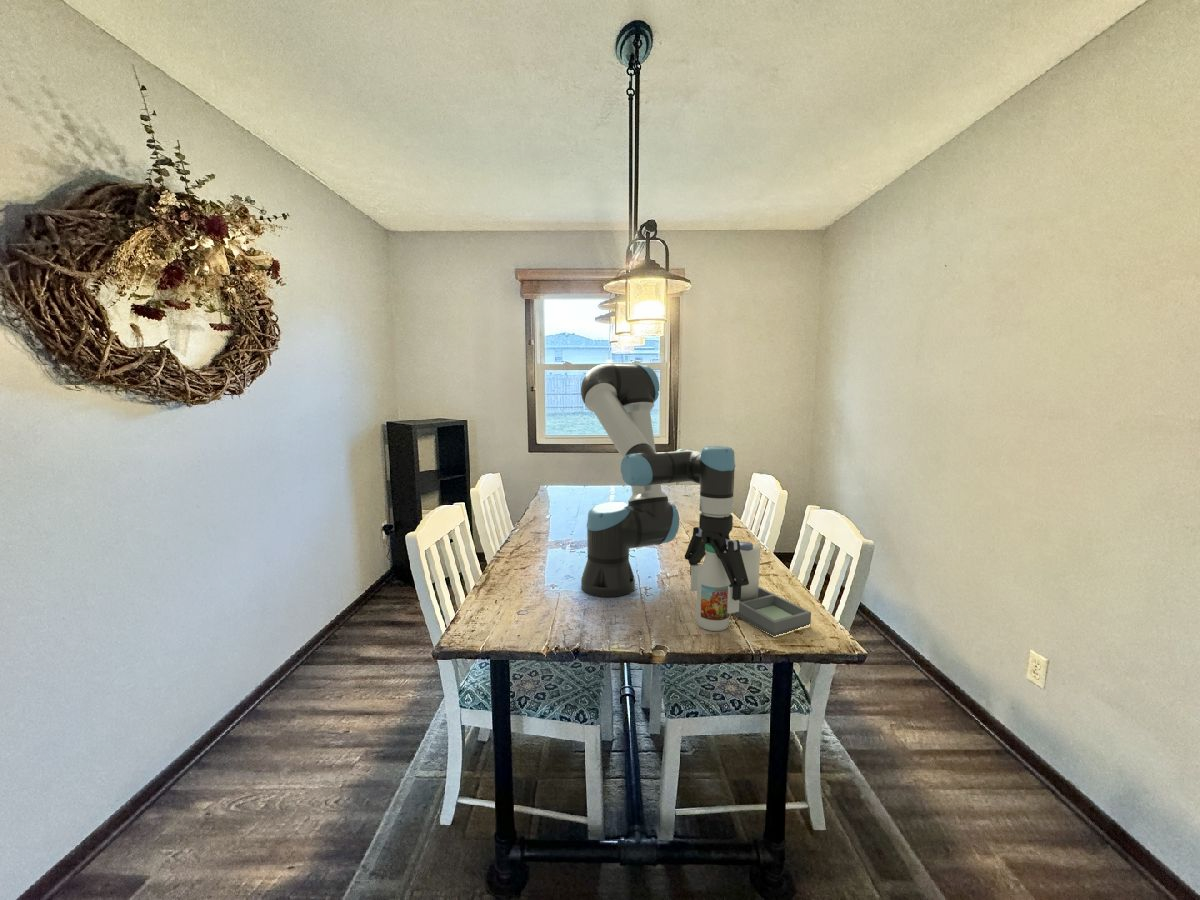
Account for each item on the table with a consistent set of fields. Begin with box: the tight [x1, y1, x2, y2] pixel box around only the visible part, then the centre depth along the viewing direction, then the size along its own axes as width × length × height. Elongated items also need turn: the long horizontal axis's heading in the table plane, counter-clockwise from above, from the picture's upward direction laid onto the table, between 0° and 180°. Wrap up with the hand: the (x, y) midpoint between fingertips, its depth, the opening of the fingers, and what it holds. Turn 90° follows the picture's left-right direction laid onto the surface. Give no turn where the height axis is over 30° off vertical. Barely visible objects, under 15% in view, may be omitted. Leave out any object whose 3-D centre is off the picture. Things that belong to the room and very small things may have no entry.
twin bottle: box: [730, 541, 761, 602], centre depth 130 cm, size 8×8×15 cm
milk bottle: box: [695, 543, 731, 632], centre depth 119 cm, size 8×8×20 cm
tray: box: [732, 586, 812, 636], centre depth 126 cm, size 12×22×4 cm, turn 27°
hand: (713, 600), depth 119 cm, fingers open, 13 cm apart
